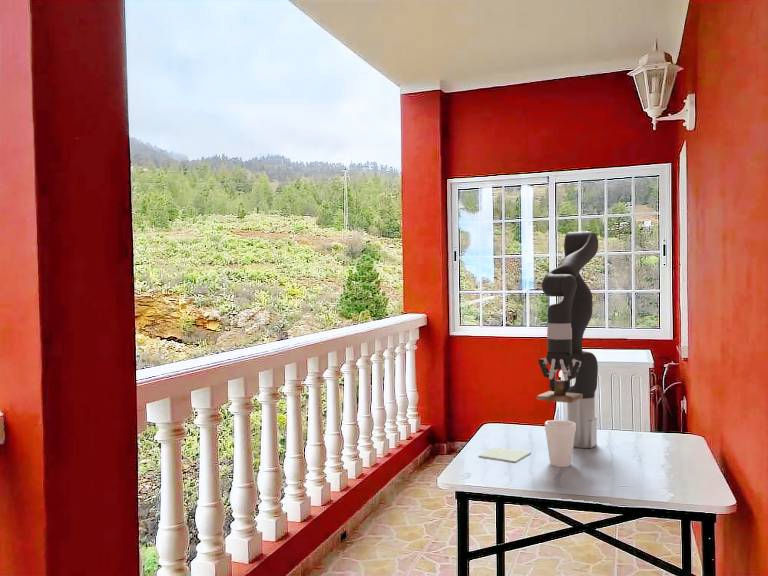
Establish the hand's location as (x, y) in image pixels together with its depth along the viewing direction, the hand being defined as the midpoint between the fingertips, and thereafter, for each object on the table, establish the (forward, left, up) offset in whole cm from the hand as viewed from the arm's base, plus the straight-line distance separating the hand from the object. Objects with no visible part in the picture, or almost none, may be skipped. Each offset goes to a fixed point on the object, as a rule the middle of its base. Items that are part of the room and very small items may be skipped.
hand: (559, 391), depth 210 cm
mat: (+19, 0, -23) cm, 30 cm away
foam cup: (0, 0, -23) cm, 23 cm away
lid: (0, 0, -2) cm, 2 cm away
